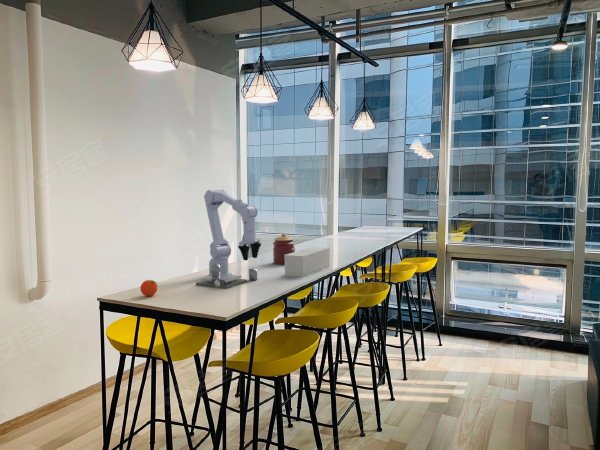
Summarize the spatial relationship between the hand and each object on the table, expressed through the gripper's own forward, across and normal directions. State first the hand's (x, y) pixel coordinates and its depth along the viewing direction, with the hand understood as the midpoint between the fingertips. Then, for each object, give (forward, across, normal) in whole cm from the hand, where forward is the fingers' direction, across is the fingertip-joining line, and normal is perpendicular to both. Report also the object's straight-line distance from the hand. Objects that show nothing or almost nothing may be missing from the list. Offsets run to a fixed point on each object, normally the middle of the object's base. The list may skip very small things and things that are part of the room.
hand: (250, 259), depth 231 cm
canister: (+11, +50, +12) cm, 52 cm away
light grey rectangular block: (+11, +34, -13) cm, 38 cm away
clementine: (+11, -45, +20) cm, 51 cm away
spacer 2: (+10, +1, -1) cm, 11 cm away
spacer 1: (+7, -12, +11) cm, 18 cm away
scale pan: (+9, -12, +8) cm, 17 cm away
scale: (+10, -12, +8) cm, 18 cm away
